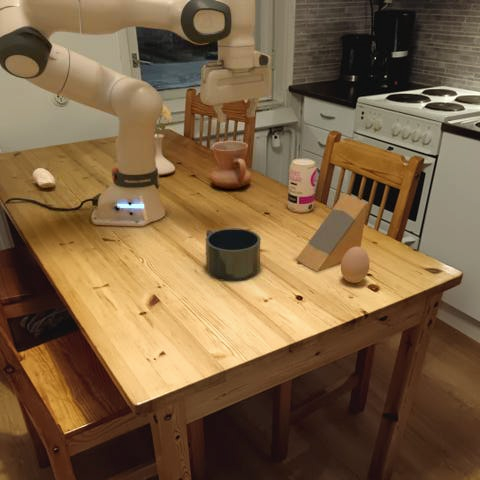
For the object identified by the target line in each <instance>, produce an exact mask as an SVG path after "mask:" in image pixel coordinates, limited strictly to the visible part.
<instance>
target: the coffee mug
mask: <svg viewBox="0 0 480 480" xmlns="http://www.w3.org/2000/svg"><path fill="white" fill-rule="evenodd" d="M205 234H206V235H205V236H206V238H205V260H206V261H205V262H206V271H207V273H208V274H209V275H210V276H211V277H213V278H215V279H218V280H221V281H226V282H239V281H241V282H242V281H246V280H249V279H251V278H253V277H255V276H256V275H258V274H259V272H260V270H261V241H262V239H261V237H260V235H259V234H258V233H257V232H254V231H252V230H249V229H246V228H238V227H229V228H222V229H221V228H220V229H216V230H212V229H210V228H207V229H206V231H205Z"/></svg>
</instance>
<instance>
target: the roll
mask: <svg viewBox="0 0 480 480" xmlns="http://www.w3.org/2000/svg"><path fill="white" fill-rule="evenodd" d="M32 179H33V181H34V182H36V184H37V185H38V186H39V187H41V188H42V189H50V188H51V189H52V188H53V187H54V186H56V179H55V177H54V176H53V174H52V173H51V172H50V171H48V170H47V169H46V168H43V167H37V168H36V169H34V171H33V172H32Z"/></svg>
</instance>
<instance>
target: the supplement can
mask: <svg viewBox="0 0 480 480" xmlns="http://www.w3.org/2000/svg"><path fill="white" fill-rule="evenodd" d="M317 169H318V168H317V165H316V161H315V160H313V159H310V158H296V159H292V161H291V163H290V164H289V172H288V188H287V190H288V191H287V208H288V209H289V211H291V212H293V213H298V214H304V213H305V214H307V213H309V212H311V211H312V210H313V209H314V206H315V205H314V204H315V203H314V202H315V194H316V181H317V171H318V170H317Z"/></svg>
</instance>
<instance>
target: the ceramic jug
mask: <svg viewBox="0 0 480 480" xmlns="http://www.w3.org/2000/svg"><path fill="white" fill-rule="evenodd" d="M248 149H249V145H248V143H247V142H244V141H239V140H238V141H237V140H225V141H217V142H214V143H213V145H212V151H213V155H214V158H215V161H216V163H217V165H218V166H217V167H216V168H215V169H213V170H212V172H211V173H210V175H209V180H210V182H211V183H212V184H213V185H214V186H216V187H218V188H221V189H228V190H229V189H231V190H234V189H239V188H243V187H245V186H247V185H248V184H249V183H250V182H251V179H252V175H251V173H250V171H249V170H248V169H247V164H246V161H245V160H246V157H247V154H248Z"/></svg>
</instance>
